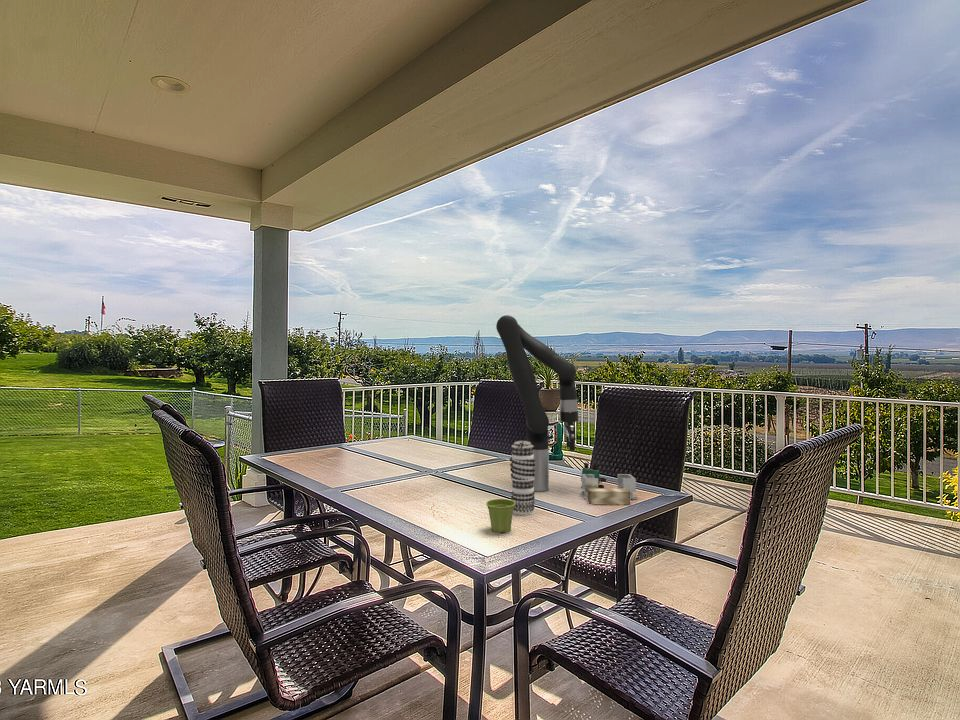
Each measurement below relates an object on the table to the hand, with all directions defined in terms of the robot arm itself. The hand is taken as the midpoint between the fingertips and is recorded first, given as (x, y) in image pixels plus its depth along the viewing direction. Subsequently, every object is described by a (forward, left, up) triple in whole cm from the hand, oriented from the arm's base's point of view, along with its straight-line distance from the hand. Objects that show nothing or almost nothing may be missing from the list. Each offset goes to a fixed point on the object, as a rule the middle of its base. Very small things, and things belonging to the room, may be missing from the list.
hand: (570, 448), depth 208 cm
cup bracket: (+13, -11, -17) cm, 24 cm away
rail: (+11, -20, -17) cm, 29 cm away
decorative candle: (-22, -31, -17) cm, 42 cm away
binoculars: (+10, +4, -18) cm, 21 cm away
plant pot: (-30, -51, -17) cm, 62 cm away
